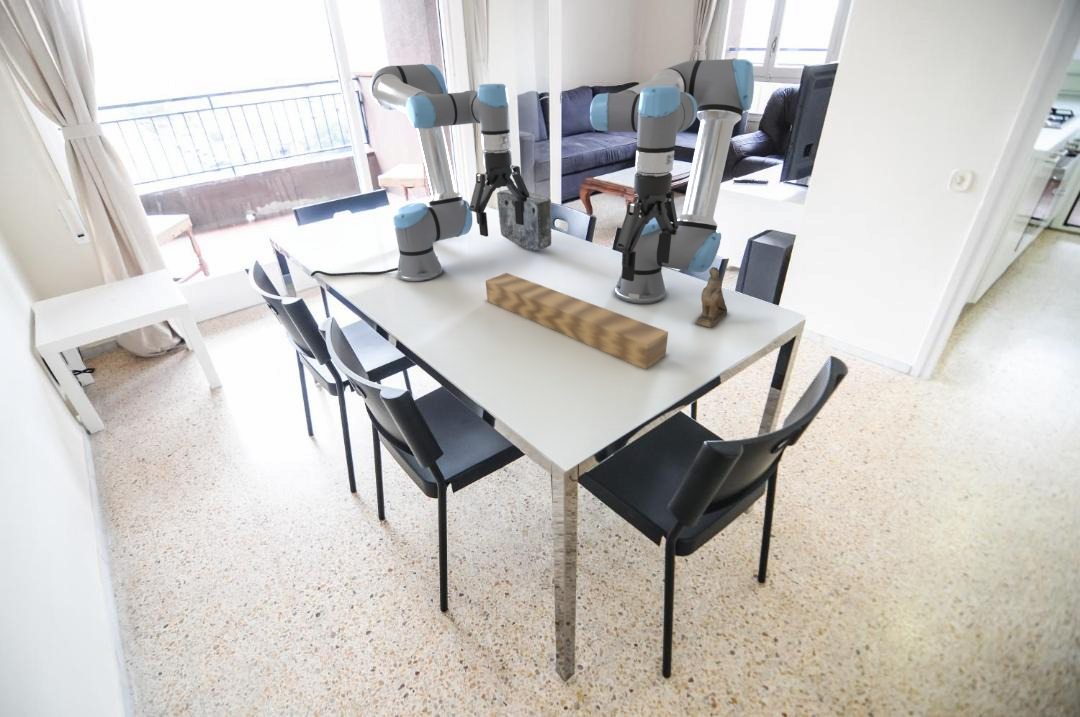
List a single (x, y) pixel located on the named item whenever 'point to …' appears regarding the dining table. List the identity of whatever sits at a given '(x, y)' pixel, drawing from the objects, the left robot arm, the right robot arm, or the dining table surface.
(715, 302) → the brown carved statuette
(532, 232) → the concrete block
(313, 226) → the dining table surface
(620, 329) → the brown striped wooden beam
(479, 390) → the dining table surface
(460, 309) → the dining table surface
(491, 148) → the left robot arm
